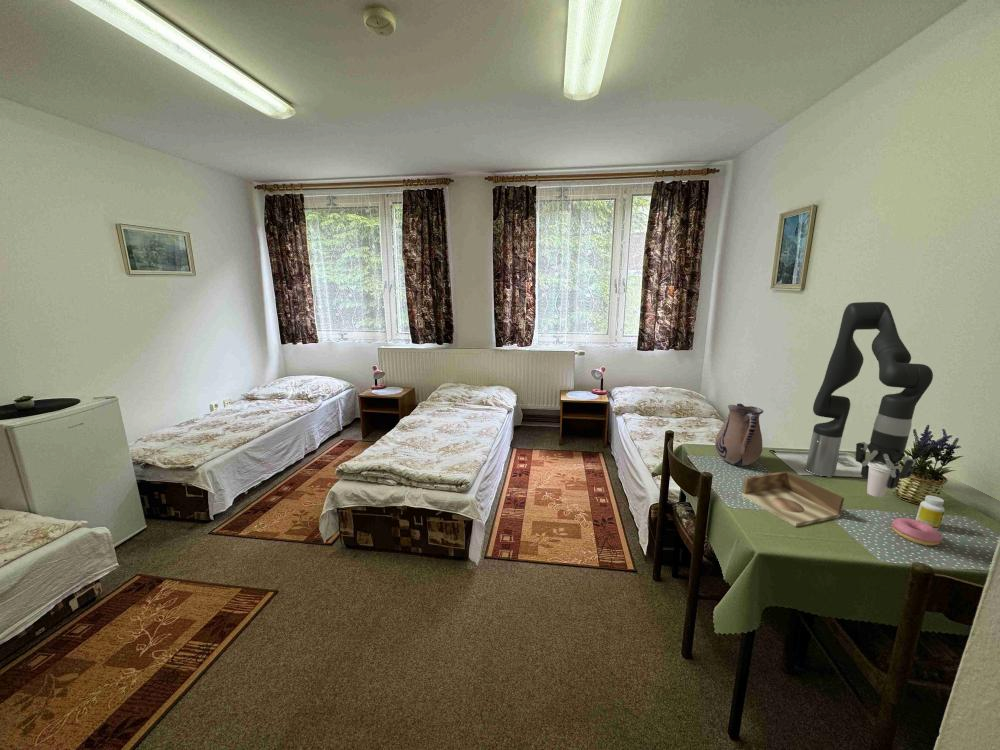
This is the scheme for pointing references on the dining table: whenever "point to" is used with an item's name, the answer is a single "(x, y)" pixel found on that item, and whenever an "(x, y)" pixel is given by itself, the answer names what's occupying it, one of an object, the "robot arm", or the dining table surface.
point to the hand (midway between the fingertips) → (877, 482)
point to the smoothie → (878, 479)
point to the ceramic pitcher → (740, 435)
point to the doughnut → (916, 531)
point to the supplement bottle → (931, 511)
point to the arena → (792, 498)
